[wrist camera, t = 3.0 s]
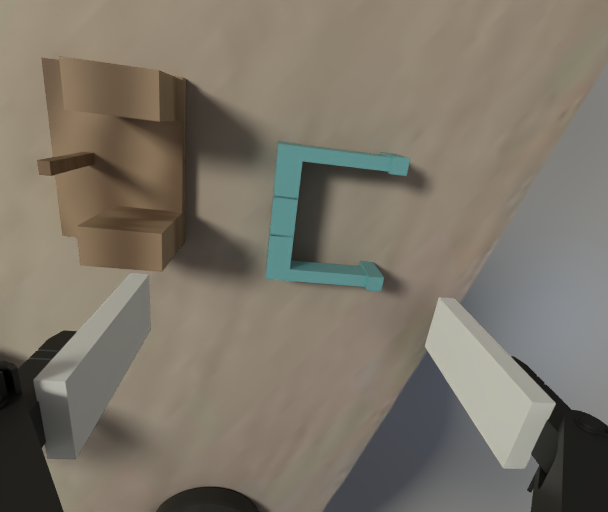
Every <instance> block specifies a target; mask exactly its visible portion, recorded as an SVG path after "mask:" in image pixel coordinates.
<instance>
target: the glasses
mask: <svg viewBox="0 0 608 512" xmlns="http://www.w3.org/2000/svg"><path fill="white" fill-rule="evenodd" d="M303 161H304V162H312V163H321V164H329V165H338V166H346V167H355V168H363V169H372V170H380V171H385V172H387V173H389V174H394V175H402V176H407V171H408V167H409V162H410V158H407V157H403V156H400V155H397V154H390V153H382V152H381V154H371V153H363V152H355V151H347V150H339V149H331V148H323V147H315V146H307V145H302V144H296V143H288V142H280V141H278V147H277V158H276V168H275V179H274V190H273V204H272V214H271V223H270V233H269V243H268V254H267V265H266V279H272V280H285V281H298V282H310V283H323V284H336V285H349V286H362V287H365V289H366V290H368V291H381V290H382V285H383V281H384V277H383V275H382V274H381V273H380V271H379V270H378V268H377V267H376V265H375V264H374V262H363V261H360V264H359V266H350V265H339V264H327V263H315V262H303V261H291V255H292V247H293V238H294V230H295V221H296V213H297V204H298V196H299V187H300V179H301V170H302V162H303Z"/></svg>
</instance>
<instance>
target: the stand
mask: <svg viewBox="0 0 608 512" xmlns="http://www.w3.org/2000/svg"><path fill="white" fill-rule="evenodd" d="M42 67H43V75H44V84H45V92H46V100H47V109H48V117H49V126H50V134H51V143H52V151H53V157H52V158H47V159H41V160H37V162H38V169H39V175H48V176H53V175H55V177H56V185H57V194H58V202H59V211H60V219H61V228H62V236H74V237H77V238H78V248H79V257H80V265H82V266H95V267H108V268H120V269H133V270H146V271H159V272H162V271H163V270H164V269H165V267H166V266H167V264H168V263H169V262H170V260H171V259H172V257H173V256H174V255H175V253H176V252H177V250H178V249H179V248H180V246H182V245H183V244H184V243H185V161H186V79H185V78H183V77H176V76H171V75H169V74H167V73H164V72H162V71H159V70H153V69H145V68H138V67H131V66H124V65H117V64H110V63H103V62H96V61H89V60H82V59H75V58H68V57H61V56H59V60H54V59H47V58H42Z"/></svg>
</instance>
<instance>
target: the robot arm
mask: <svg viewBox="0 0 608 512" xmlns="http://www.w3.org/2000/svg"><path fill="white" fill-rule="evenodd" d="M150 330H151V320H150V290H149V275H148V274H135V273H130V274H129V275H128V276H127V277H126V278H125V279H124V281H123V282H122V283H121V284H120V285H119V286H118V287H117V288H116V289H115V291H114V292H113V293H112V294H111V295H110V296H109V297H108V298H107V299H106V300H105V302H104V303H103V304H102V305H101V306H100V307H99V308H98V309H97V310H96V311H95V313H94V314H93V315H92V316H91V317H90V318H89V319H88V320H87V321H86V322H85V324H84V325H83V326H82V327H81V328H80V329H79V330H78V331H62V332H60V333H58V334H57V335H55V336H53V337H51V338H49V339H48V340H47V341H46V342H45V343H44V344H43V345H42V346H41V347H40V348H39V349H38V351H36V352H35V353H34V354H33V355H32V356H31V357H30V359H29V360H27V361H26V362H25V363H24V364H23V365H22V366H21V367H20V368H19V369H18V368H17V367H16V366H15V365H14V364H12V363H9V362H5V361H3V362H0V512H64V511H63V509H62V506H61V503H60V500H59V497H58V494H57V491H56V488H55V486H54V483H53V480H52V477H51V474H50V471H49V468H48V465H47V463H46V460H45V457H44V454H43V451H42V447H43V445H44V444H45V448H46V453H47V459H77V457H78V455H79V454H80V452H81V450H82V448H83V447H84V445H85V443H86V441H87V440H88V438H89V436H90V434H91V433H92V431H93V429H94V427H95V426H96V424H97V422H98V420H99V419H100V417H101V415H102V414H103V412H104V410H105V408H106V407H107V405H108V403H109V401H110V400H111V398H112V396H113V394H114V393H115V391H116V389H117V387H118V386H119V384H120V382H121V380H122V379H123V377H124V375H125V374H126V372H127V370H128V368H129V367H130V365H131V363H132V361H133V360H134V358H135V356H136V354H137V353H138V351H139V349H140V347H141V346H142V344H143V342H144V340H145V339H146V337H147V335H148V334H149V332H150ZM425 347H426V349H427V351H428V352H429V353H430V355H431V357H432V358H433V360H434V361H435V363H436V365H437V366H438V368H439V369H440V371H441V372H442V374H443V375H444V377H445V379H446V380H447V382H448V383H449V385H450V386H451V388H452V389H453V391H454V393H455V394H456V396H457V397H458V399H459V400H460V402H461V403H462V405H463V407H464V408H465V410H466V411H467V413H468V414H469V416H470V417H471V419H472V420H473V422H474V424H475V425H476V427H477V428H478V430H479V431H480V433H481V434H482V436H483V438H484V439H485V441H486V442H487V444H488V445H489V447H490V448H491V450H492V452H493V453H494V455H495V456H496V458H497V459H498V461H499V462H500V464H501V466H502V467H503V468H510V469H512V468H514V469H525V467H526V465H527V463H528V461H529V459H530V457H531V455H532V456H533V457H534V458H535V460H536V461H537V462H538V464H539V467H538V469H537V471H536V473H535V475H534V477H533V480H532V481H531V483H530V485H529V488H528V489H527V490H528V491H529V492H532V490H533V498H532V507H531V512H608V426H607V425H606V424H604V423H603V422H602V421H600V420H599V419H597V418H595V417H593V416H592V415H590V414H587V413H584V412H581V411H577V410H571V409H570V408H569V407H568V406H567V405H566V404H565V403H564V402H563V401H562V400H561V399H560V398H559V397H558V396H557V395H556V394H555V393H554V392H553V391H552V390H551V389H550V388H549V387H548V386H547V385H545V384H544V382H543V381H542V380H541V379H540V378H539V377H537V375H536V374H535V373H534V372H533V371H532V370H531V369H530V368H529V367H528V366H527V365H526V364H524V363H523V362H521V361H520V360H518V359H517V358H515V357H513V356H510V355H508V353H507V352H506V351H505V350H504V349H503V348H502V347H501V346H500V345H499V344H498V343H497V342H496V341H495V340H494V339H493V338H492V337H491V336H490V335H489V334H488V333H487V332H486V331H485V330H484V329H483V327H481V325H480V324H479V323H478V322H477V321H476V320H475V319H474V318H473V317H472V316H471V315H470V314H469V313H468V312H467V311H466V310H465V309H464V308H463V307H462V306H461V305H460V304H459V303H458V302H457V301H456V300H455V299H454V298H442V297H439V299H438V303H437V306H436V309H435V313H434V316H433V320H432V323H431V327H430V330H429V334H428V337H427V340H426V344H425ZM533 488H534V489H533ZM156 512H259V511H258V510H257V508H256V506H255V505H254V504H253V503H252V502H251V501H250V500H249V499H247V498H246V497H244V496H242V495H241V494H238V493H236V492H233V491H230V490H227V489H222V488H211V487H206V488H196V489H190V490H187V491H183V492H181V493H178V494H176V495H174V496H172V497H170V498H169V499H167V500H166V501H165V502H164V503H163V504H162V505H161V506H160V507H159V508H158V510H157V511H156Z"/></svg>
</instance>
